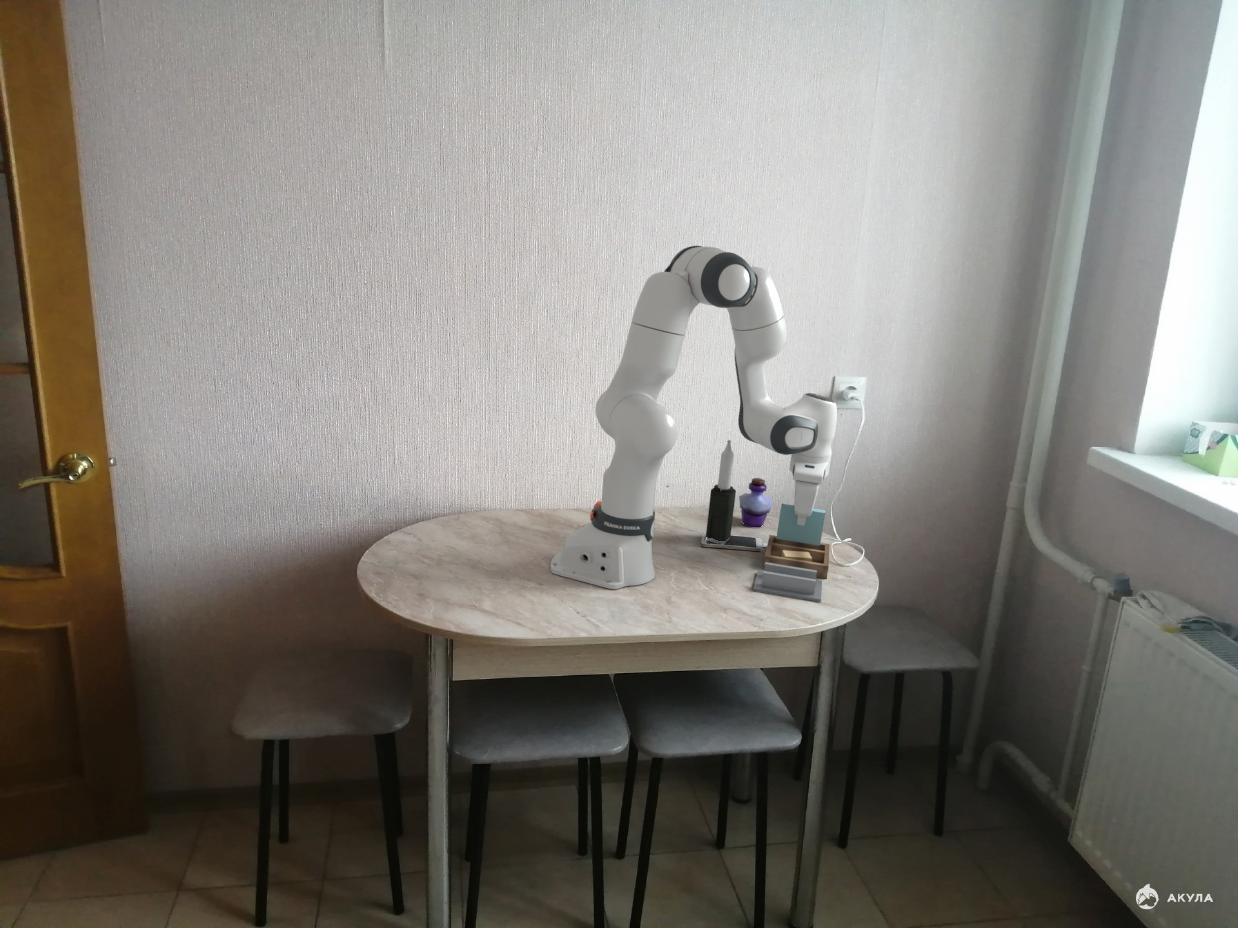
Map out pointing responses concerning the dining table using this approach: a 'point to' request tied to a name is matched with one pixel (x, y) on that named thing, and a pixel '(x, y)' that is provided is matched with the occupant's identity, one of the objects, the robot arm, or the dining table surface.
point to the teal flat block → (800, 526)
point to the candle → (722, 500)
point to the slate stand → (789, 582)
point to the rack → (817, 552)
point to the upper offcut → (797, 555)
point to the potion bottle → (755, 504)
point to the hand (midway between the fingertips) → (801, 521)
